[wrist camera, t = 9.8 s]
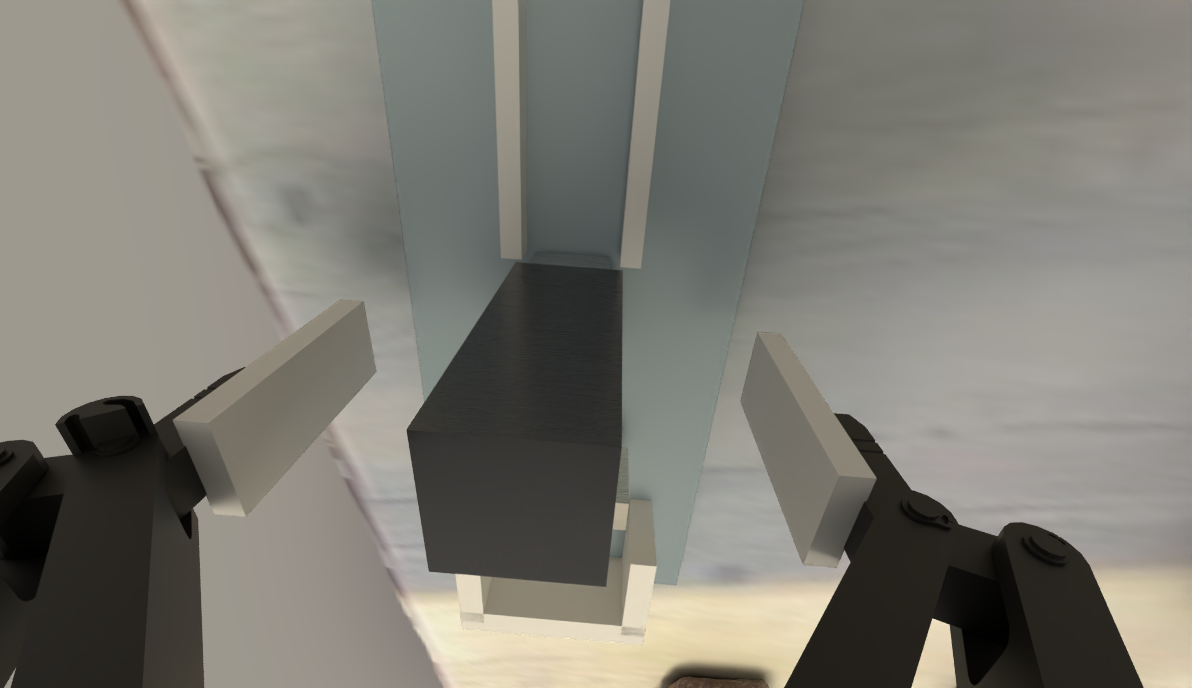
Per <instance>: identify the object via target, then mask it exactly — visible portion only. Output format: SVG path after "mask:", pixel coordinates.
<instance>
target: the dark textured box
mask: <svg viewBox="0 0 1192 688" xmlns="http://www.w3.org/2000/svg"><path fill="white" fill-rule="evenodd" d="M609 268H610V257H602V256H589V255H576V254H562V253H549V252H535V254H534V255H533V257H532V259H531V261H530V262H529V263H520V262H516V263H515V264H514V266H513V267H512V269H511V270H510V272H509V273H508V275H507V276H506V278H505V279H504V281H503V283H502V284H501V286H500V287H499V289H498V290H497V292H496V293H495V295H494V296H493V298H492V299H491V301H490V302H489V304H488V306H487V307H486V309H485V310H484V312H483V313H482V315H481V316H480V318H479V319H478V321H477V322H476V324H475V326H474V327H473V329H472V330H471V332H470V333H469V335H468V336H467V338H466V339H465V341H464V342H463V344H462V345H461V347H460V349H459V350H458V352H457V353H456V355H455V356H454V358H453V359H452V361H451V362H450V364H449V365H448V367H447V369H446V370H445V372H444V373H443V375H442V376H441V378H440V379H439V381H438V382H437V384H436V385H435V387H434V388H433V390H432V392H431V393H430V395H429V396H428V398H427V399H426V401H425V402H424V404H423V405H422V407H421V408H420V410H419V412H418V413H417V415H416V416H415V418H414V419H413V421H412V422H411V424H410V425H409V427H408V428H407V436H408V442H409V448H410V455H411V461H412V467H413V474H414V480H415V486H416V492H417V499H418V505H419V511H420V518H421V524H422V530H423V537H424V543H425V549H426V556H427V562H428V568H429V572H441V573H452V574H464V575H475V576H486V577H498V578H509V579H520V580H532V581H543V582H555V583H566V584H577V585H589V586H600V587H606V584H607V575H608V566H609V557H610V548H611V539H612V530H613V529H614V530H626V523H627V515H628V507H629V469H628V447H622V315H623V270H612V269H609Z"/></svg>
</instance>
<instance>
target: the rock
mask: <svg viewBox="0 0 1192 688" xmlns="http://www.w3.org/2000/svg"><path fill="white" fill-rule="evenodd" d="M666 688H769V687H768V685H767V684H766V683H765V682H764V681H763V680H757V679H736V680H731V679H711V678H694V677H683V678H680V679H679V680H677V681H676V682H674V683H673V684H671V685H670V686H668V687H666Z"/></svg>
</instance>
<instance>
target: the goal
mask: <svg viewBox="0 0 1192 688" xmlns="http://www.w3.org/2000/svg"><path fill="white" fill-rule="evenodd" d="M656 568H657V563H656V549H655V535H654V520H653V506H652V501H649V500H637V499H630V501H629V509H628V517H627V524H626V532H625V540H624V547H623V555H622V558H614V557H609V566H608V575H607V584H606V587H600V586H589V585H577V584H566V583H555V582H543V581H532V580H520V579H509V578H498V577H486V576H475V575H464V574H456V582H457V590H458V599H459V607H460V616H461V624H462V629H464V630H475V631H486V632H497V633H508V634H519V635H530V636H542V637H553V638H564V639H575V640H586V641H597V642H608V643H619V644H631V645H642V644H643V639H644V633H645V628H646V622H647V617H648V611H649V606H650V600H651V595H652V590H653V584H654V579H655V573H656Z"/></svg>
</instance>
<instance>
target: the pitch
mask: <svg viewBox="0 0 1192 688" xmlns="http://www.w3.org/2000/svg"><path fill="white" fill-rule="evenodd" d="M804 1H805V0H372V7H373V14H374V22H375V30H376V37H377V45H378V52H379V60H380V68H381V75H382V83H383V90H384V98H385V106H386V113H387V121H388V128H389V136H390V144H391V151H392V159H393V166H394V174H395V182H396V189H397V197H398V204H399V212H400V220H401V227H402V235H403V242H404V250H405V258H406V265H407V273H408V281H409V288H410V296H411V303H412V311H413V319H414V326H415V334H416V341H417V349H418V357H419V364H420V372H421V379H422V387H423V395H424V402H425V401H426V399H427V398H428V396H429V395H430V393H431V392H432V390H433V388H434V387H435V385H436V384H437V382H438V381H439V379H440V378H441V376H442V375H443V373H444V372H445V370H446V369H447V367H448V365H449V364H450V362H451V361H452V359H453V358H454V356H455V355H456V353H457V352H458V350H459V349H460V347H461V345H462V344H463V342H464V341H465V339H466V338H467V336H468V335H469V333H470V332H471V330H472V329H473V327H474V326H475V324H476V322H477V321H478V319H479V318H480V316H481V315H482V313H483V312H484V310H485V309H486V307H487V306H488V304H489V302H490V301H491V299H492V298H493V296H494V295H495V293H496V292H497V290H498V289H499V287H500V286H501V284H502V283H503V281H504V279H505V278H506V276H507V275H508V273H509V272H510V270H511V269H512V267H513V266H514V264H515V263H516V262H520V263H529V262H530V261H531V259H532V257H533V255H534V254H535V252H549V253H562V254H576V255H589V256H602V257H610V268H609V269H612V270H623V315H622V447H628V469H629V501H630V499H637V500H649V501H652V506H653V520H654V535H655V549H656V563H657V568H656V573H655V579H654V583H655V584H667V585H677V580H678V575H679V571H680V566H681V562H682V557H683V553H684V548H685V544H686V539H687V534H688V530H689V525H690V521H691V516H692V512H693V507H694V502H695V498H696V493H697V489H698V484H699V480H700V475H701V471H702V466H703V461H704V457H705V452H706V448H707V443H708V439H709V434H710V429H711V425H712V420H713V416H714V411H715V407H716V402H717V398H718V393H719V388H720V384H721V379H722V375H723V370H724V366H725V361H726V356H727V352H728V347H729V343H730V338H731V334H732V329H733V325H734V320H735V315H736V311H737V306H738V302H739V297H740V293H741V288H742V283H743V279H744V274H745V270H746V265H747V261H748V256H749V252H750V247H751V242H752V238H753V233H754V229H755V224H756V220H757V215H758V210H759V206H760V201H761V197H762V192H763V188H764V183H765V179H766V174H767V169H768V165H769V160H770V156H771V151H772V147H773V142H774V137H775V133H776V128H777V124H778V119H779V115H780V110H781V106H782V101H783V96H784V92H785V87H786V83H787V78H788V74H789V69H790V64H791V60H792V55H793V51H794V46H795V42H796V37H797V33H798V28H799V23H800V19H801V14H802V10H803V5H804ZM628 509H629V507H628ZM627 517H628V515H627ZM626 524H627V523H626ZM625 532H626V530H614V529H613V530H612V539H611V548H610V557H614V558H622V555H623V547H624V540H625Z"/></svg>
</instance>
